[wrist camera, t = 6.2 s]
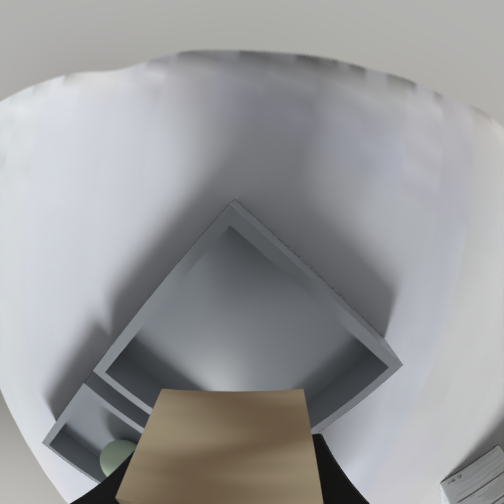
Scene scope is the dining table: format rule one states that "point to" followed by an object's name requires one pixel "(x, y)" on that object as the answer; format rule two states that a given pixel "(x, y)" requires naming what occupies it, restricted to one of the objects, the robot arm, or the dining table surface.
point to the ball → (115, 454)
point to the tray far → (94, 426)
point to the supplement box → (477, 482)
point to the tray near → (248, 328)
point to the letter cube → (224, 450)
